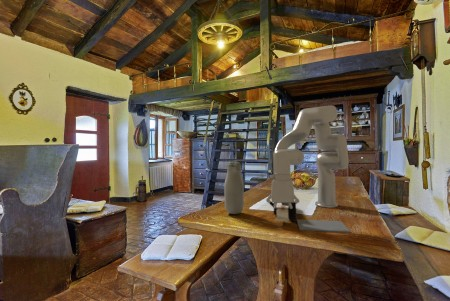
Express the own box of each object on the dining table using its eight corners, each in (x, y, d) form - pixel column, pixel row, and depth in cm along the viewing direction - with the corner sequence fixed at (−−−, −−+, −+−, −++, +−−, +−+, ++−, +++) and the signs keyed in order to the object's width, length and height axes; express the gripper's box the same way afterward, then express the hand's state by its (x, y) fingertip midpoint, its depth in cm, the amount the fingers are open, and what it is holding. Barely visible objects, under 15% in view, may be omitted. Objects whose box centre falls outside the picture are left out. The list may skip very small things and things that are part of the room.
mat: (296, 220, 113) (296, 219, 113) (340, 222, 109) (341, 221, 109) (299, 230, 100) (299, 228, 100) (350, 232, 96) (350, 231, 96)
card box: (277, 214, 113) (277, 204, 113) (288, 215, 112) (288, 205, 111) (276, 220, 104) (276, 210, 104) (288, 221, 103) (288, 210, 103)
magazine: (297, 205, 107) (287, 177, 135) (290, 205, 107) (281, 177, 135) (295, 236, 112) (286, 203, 140) (288, 236, 112) (280, 203, 141)
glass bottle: (222, 215, 123) (221, 161, 122) (229, 210, 132) (229, 160, 131) (239, 217, 119) (239, 162, 118) (246, 212, 128) (246, 160, 127)
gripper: (262, 178, 105) (263, 218, 106) (302, 178, 102) (303, 219, 103) (263, 176, 113) (264, 213, 113) (300, 176, 109) (301, 214, 110)
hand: (282, 216), depth 108 cm, fingers closed on card box, 5 cm apart
